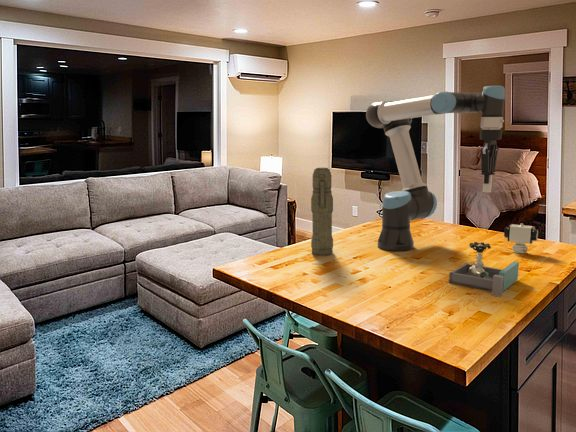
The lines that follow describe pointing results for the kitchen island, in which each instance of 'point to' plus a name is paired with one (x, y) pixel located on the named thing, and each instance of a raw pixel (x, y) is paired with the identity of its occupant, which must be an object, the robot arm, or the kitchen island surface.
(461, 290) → the kitchen island surface
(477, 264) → the valve
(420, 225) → the kitchen island surface
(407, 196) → the robot arm
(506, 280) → the gate
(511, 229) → the pneumatic valve
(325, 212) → the grey carved statue
